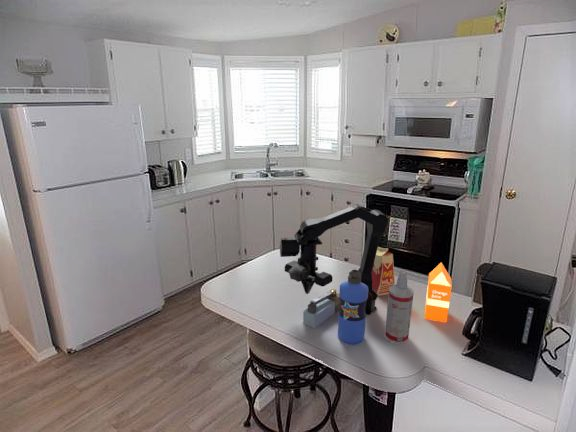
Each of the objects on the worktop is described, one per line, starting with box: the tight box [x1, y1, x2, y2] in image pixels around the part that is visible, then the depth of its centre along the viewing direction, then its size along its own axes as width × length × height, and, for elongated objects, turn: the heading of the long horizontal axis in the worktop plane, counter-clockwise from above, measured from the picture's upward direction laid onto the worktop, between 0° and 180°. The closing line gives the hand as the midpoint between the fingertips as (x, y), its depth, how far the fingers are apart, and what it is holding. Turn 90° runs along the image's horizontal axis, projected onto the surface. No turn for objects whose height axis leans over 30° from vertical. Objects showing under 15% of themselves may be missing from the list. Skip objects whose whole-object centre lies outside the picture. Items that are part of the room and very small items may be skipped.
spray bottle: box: [384, 269, 415, 345], centre depth 125 cm, size 8×8×25 cm
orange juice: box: [424, 262, 453, 323], centre depth 139 cm, size 8×9×20 cm
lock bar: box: [309, 288, 337, 305], centre depth 141 cm, size 13×2×2 cm, turn 134°
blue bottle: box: [337, 269, 368, 346], centre depth 125 cm, size 9×9×25 cm
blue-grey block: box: [302, 299, 335, 329], centre depth 139 cm, size 5×13×8 cm, turn 140°
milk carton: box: [372, 246, 396, 297], centre depth 158 cm, size 9×9×20 cm
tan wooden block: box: [328, 292, 341, 314], centre depth 145 cm, size 5×4×6 cm
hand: (307, 293), depth 141 cm, fingers closed
